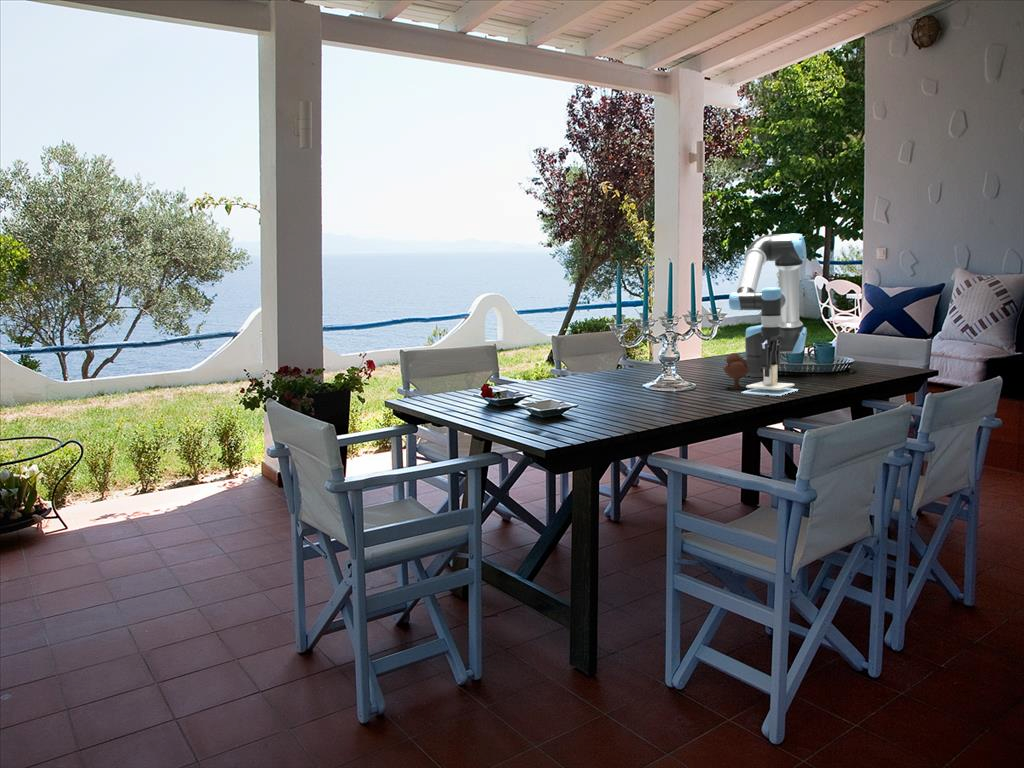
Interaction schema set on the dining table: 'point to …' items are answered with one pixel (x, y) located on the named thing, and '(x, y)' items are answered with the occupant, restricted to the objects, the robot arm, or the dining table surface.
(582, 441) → the dining table surface
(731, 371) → the ice cream bowl
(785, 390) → the mat
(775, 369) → the lid
